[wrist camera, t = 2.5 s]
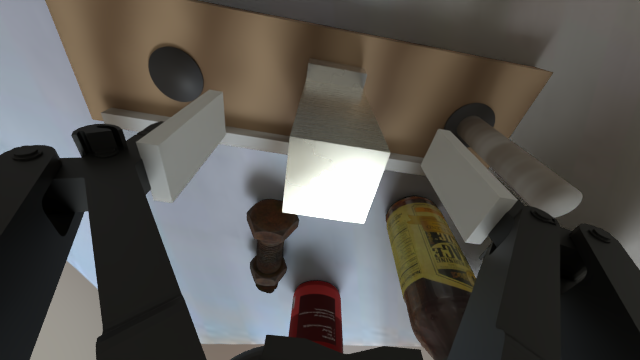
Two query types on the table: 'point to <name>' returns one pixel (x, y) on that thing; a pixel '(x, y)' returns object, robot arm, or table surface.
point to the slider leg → (334, 146)
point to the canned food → (317, 314)
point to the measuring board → (300, 82)
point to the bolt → (269, 241)
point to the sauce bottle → (429, 272)
